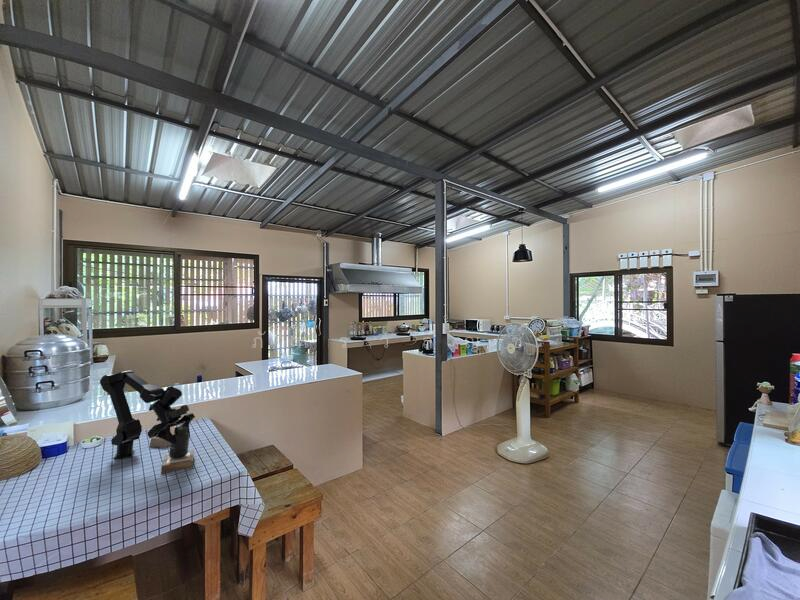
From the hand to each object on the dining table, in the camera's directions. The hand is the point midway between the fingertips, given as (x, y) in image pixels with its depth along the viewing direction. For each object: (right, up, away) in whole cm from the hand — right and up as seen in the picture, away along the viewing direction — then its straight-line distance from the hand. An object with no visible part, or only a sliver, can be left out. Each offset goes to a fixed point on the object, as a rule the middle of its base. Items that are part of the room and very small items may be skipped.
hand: (182, 440), depth 139 cm
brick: (-24, -12, +25) cm, 36 cm away
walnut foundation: (-2, -11, 0) cm, 11 cm away
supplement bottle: (-2, -7, 0) cm, 7 cm away
